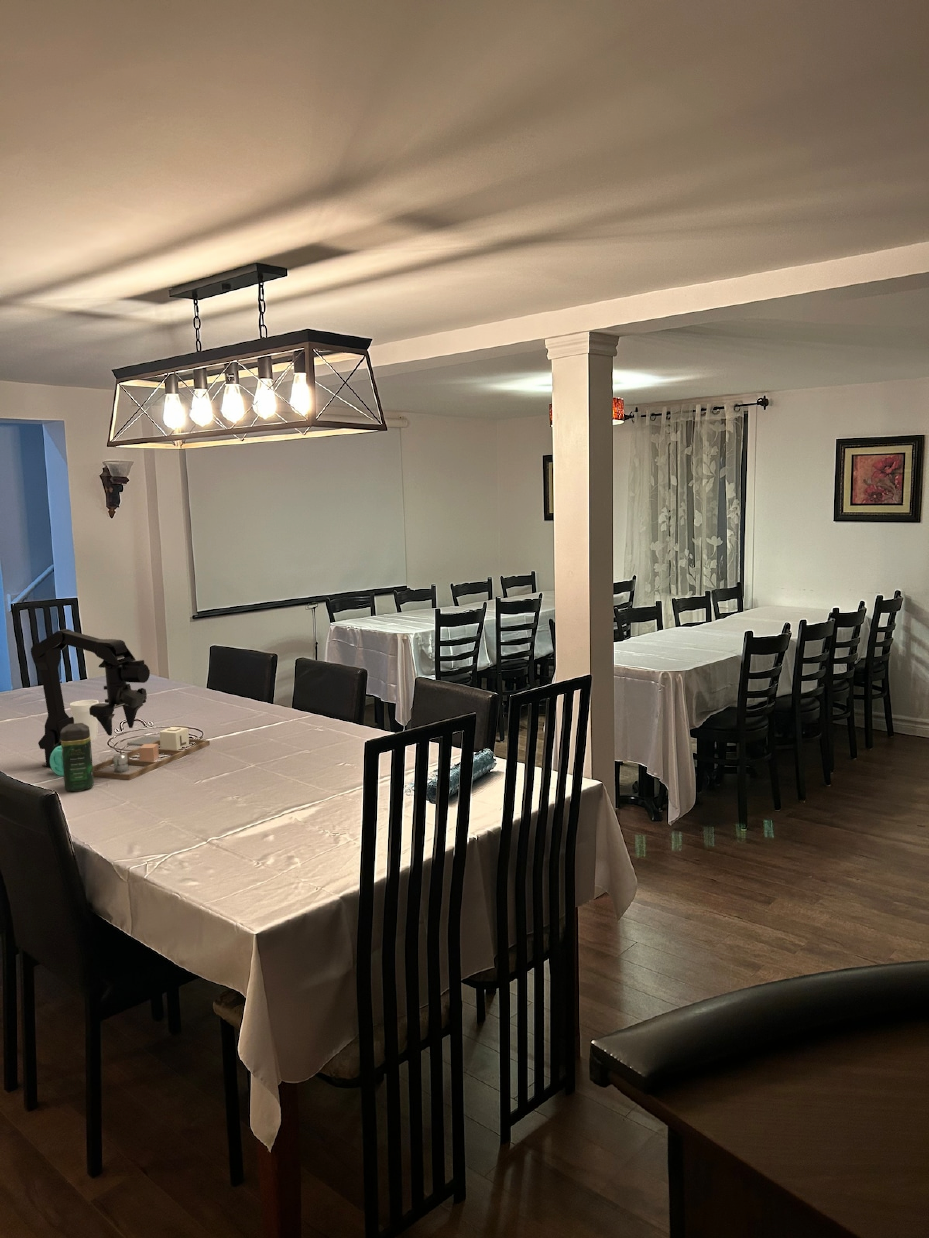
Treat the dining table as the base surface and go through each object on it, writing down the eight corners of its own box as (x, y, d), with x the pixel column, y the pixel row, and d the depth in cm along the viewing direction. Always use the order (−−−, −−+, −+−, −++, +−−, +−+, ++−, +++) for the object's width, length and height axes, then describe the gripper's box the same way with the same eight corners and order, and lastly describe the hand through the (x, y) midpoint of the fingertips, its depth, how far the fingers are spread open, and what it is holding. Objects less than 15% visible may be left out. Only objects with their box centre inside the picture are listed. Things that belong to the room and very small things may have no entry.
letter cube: (177, 752, 297) (175, 732, 296) (160, 750, 299) (159, 731, 298) (189, 746, 303) (188, 727, 302) (173, 745, 305) (172, 726, 304)
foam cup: (77, 743, 310) (74, 707, 308) (69, 738, 317) (66, 702, 315) (105, 738, 316) (102, 702, 314) (97, 733, 323) (94, 698, 321)
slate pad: (148, 746, 304) (148, 744, 304) (127, 744, 307) (127, 742, 307) (166, 739, 313) (166, 737, 312) (145, 737, 316) (145, 736, 316)
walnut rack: (129, 779, 268) (129, 775, 268) (82, 775, 274) (82, 770, 274) (209, 744, 304) (209, 740, 304) (166, 741, 310) (166, 736, 310)
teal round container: (90, 769, 280) (88, 744, 279) (72, 776, 273) (70, 751, 271) (68, 767, 282) (66, 742, 281) (50, 775, 275) (48, 749, 274)
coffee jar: (94, 789, 259) (88, 727, 257) (64, 793, 257) (58, 730, 254) (95, 780, 268) (89, 719, 266) (66, 784, 266) (60, 722, 263)
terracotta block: (154, 761, 287) (153, 747, 286) (140, 761, 287) (138, 748, 286) (158, 757, 291) (157, 743, 291) (145, 757, 291) (144, 744, 291)
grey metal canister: (122, 773, 275) (121, 757, 274) (111, 772, 276) (110, 756, 275) (131, 769, 278) (130, 753, 278) (120, 768, 280) (119, 752, 279)
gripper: (116, 689, 263) (120, 741, 265) (158, 676, 280) (162, 725, 282) (85, 687, 267) (90, 738, 269) (129, 675, 284) (133, 723, 286)
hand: (120, 731), depth 276 cm, fingers open, 9 cm apart
